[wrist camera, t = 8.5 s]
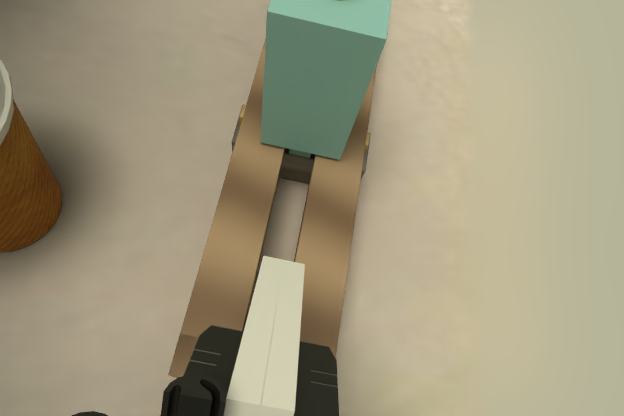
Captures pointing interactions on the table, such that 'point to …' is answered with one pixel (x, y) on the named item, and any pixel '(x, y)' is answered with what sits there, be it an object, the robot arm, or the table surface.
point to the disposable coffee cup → (22, 178)
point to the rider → (319, 71)
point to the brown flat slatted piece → (254, 220)
